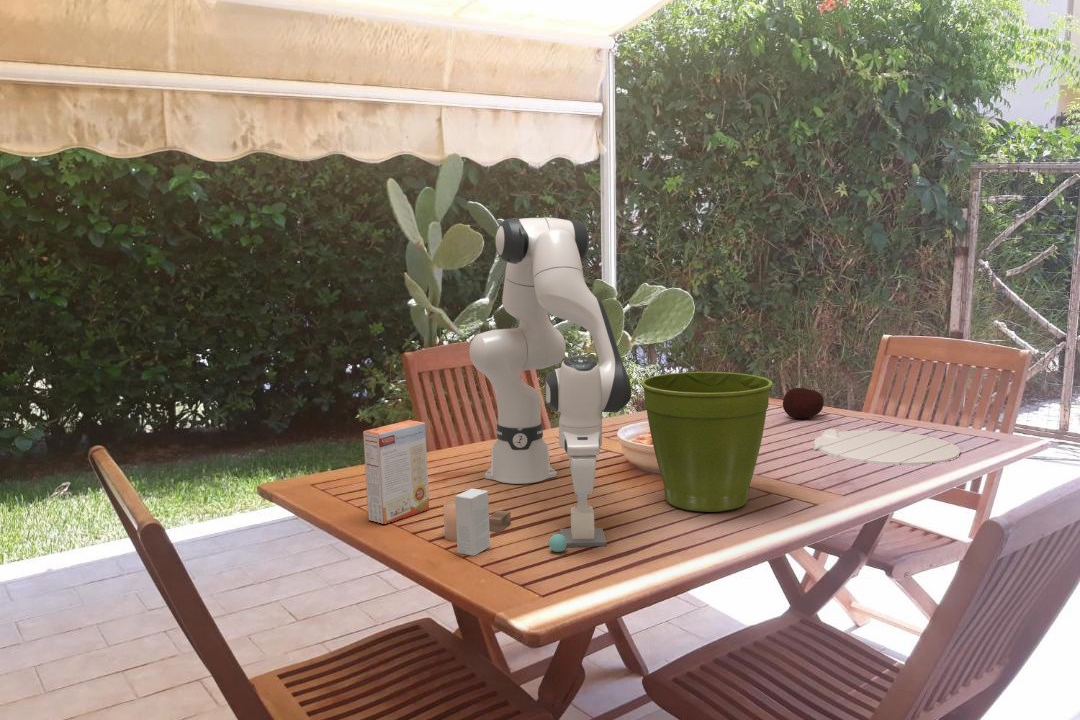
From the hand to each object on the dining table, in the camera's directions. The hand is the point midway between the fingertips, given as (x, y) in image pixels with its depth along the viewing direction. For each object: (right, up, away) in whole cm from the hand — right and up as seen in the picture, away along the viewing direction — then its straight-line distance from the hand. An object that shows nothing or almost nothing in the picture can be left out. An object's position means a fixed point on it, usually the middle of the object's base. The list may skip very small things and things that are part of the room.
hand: (580, 501), depth 192 cm
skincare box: (-22, -9, -5) cm, 24 cm away
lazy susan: (+90, +4, +74) cm, 117 cm away
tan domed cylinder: (-25, -8, +4) cm, 27 cm away
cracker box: (-41, -6, +18) cm, 45 cm away
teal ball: (-5, -9, -6) cm, 12 cm away
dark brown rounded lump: (+79, +10, +115) cm, 139 cm away
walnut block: (-17, -7, +9) cm, 21 cm away
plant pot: (+30, -4, +25) cm, 40 cm away
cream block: (0, -7, +1) cm, 7 cm away
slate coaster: (0, -8, +1) cm, 8 cm away
